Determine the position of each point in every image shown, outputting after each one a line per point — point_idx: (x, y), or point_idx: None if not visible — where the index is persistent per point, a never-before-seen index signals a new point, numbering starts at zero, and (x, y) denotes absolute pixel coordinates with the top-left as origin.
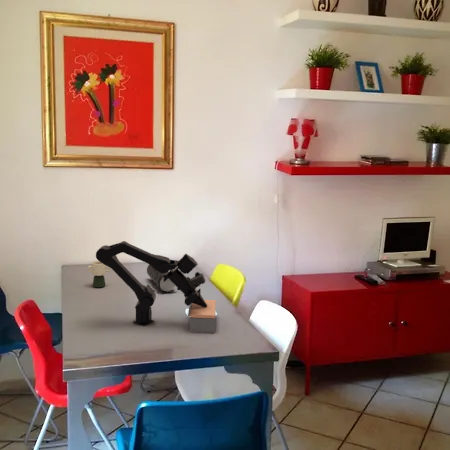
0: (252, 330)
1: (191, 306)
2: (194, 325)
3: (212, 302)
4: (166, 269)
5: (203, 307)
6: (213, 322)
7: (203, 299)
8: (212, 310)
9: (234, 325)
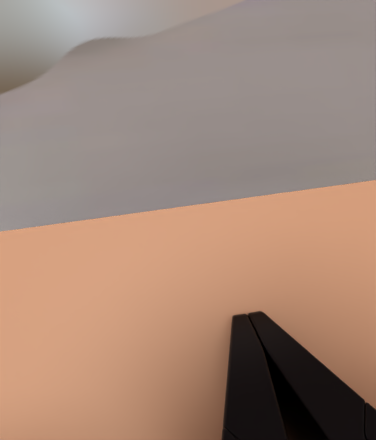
0: (257, 3)
1: None
2: None
3: (2, 276)
4: None
5: None
6: None
7: (254, 408)
8: (347, 219)
9: (195, 109)
